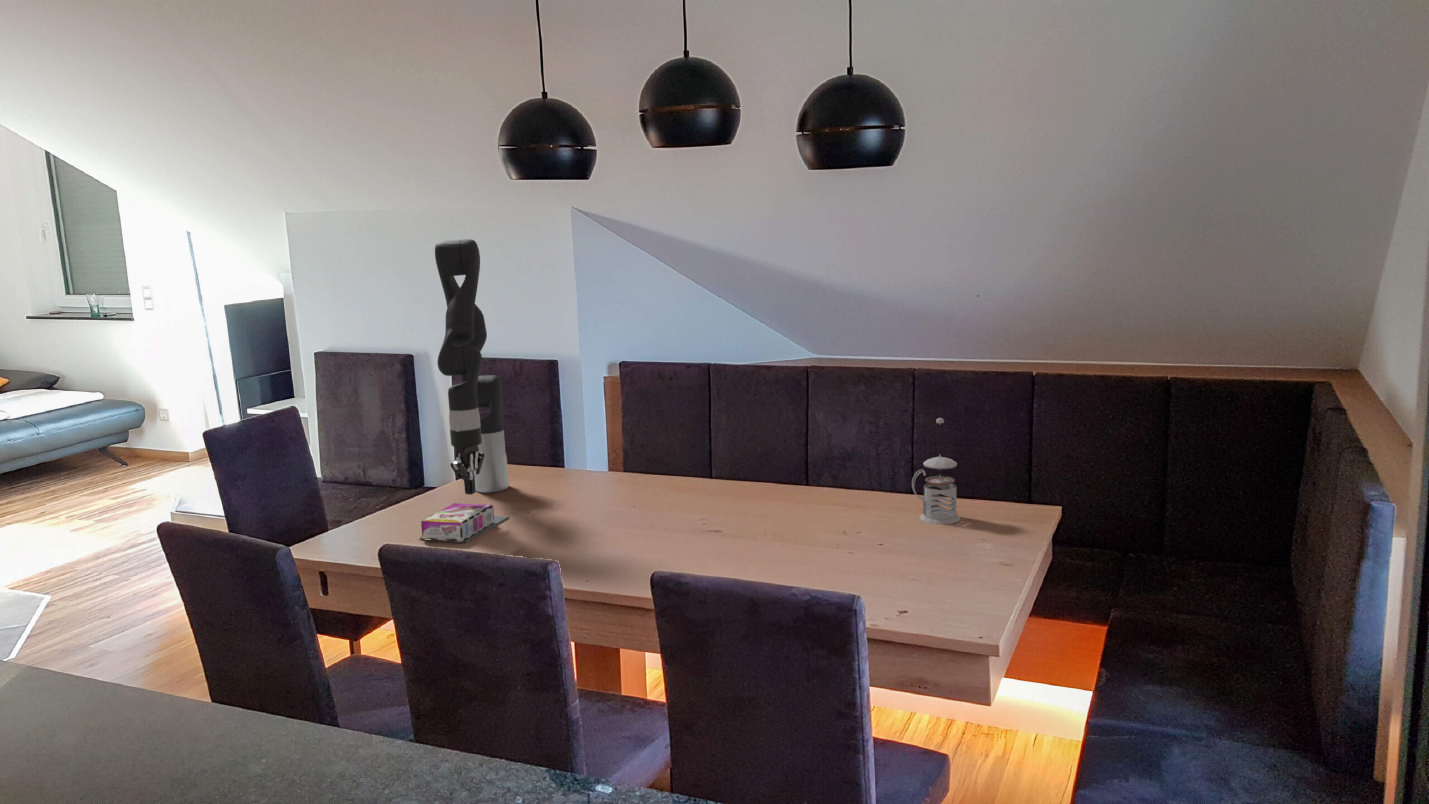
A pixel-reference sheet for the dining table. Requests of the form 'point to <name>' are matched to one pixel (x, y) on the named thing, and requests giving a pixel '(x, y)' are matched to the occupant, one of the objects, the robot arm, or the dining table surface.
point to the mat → (496, 521)
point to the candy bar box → (457, 522)
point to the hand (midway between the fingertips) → (470, 493)
